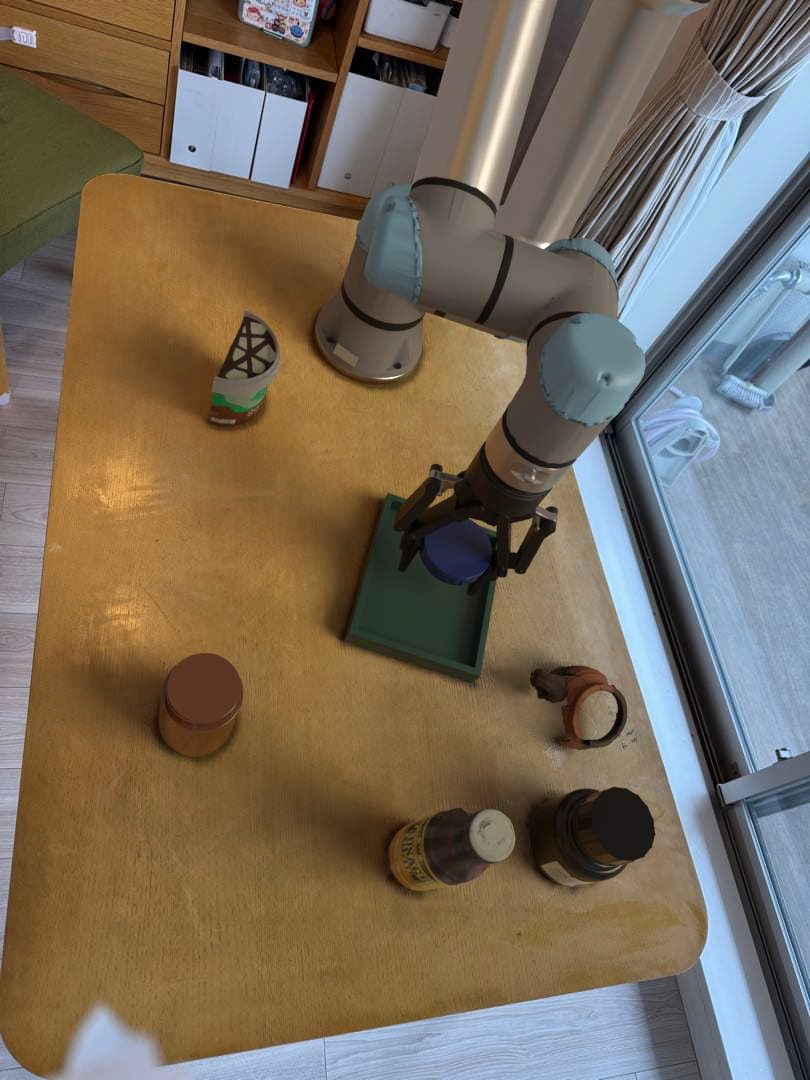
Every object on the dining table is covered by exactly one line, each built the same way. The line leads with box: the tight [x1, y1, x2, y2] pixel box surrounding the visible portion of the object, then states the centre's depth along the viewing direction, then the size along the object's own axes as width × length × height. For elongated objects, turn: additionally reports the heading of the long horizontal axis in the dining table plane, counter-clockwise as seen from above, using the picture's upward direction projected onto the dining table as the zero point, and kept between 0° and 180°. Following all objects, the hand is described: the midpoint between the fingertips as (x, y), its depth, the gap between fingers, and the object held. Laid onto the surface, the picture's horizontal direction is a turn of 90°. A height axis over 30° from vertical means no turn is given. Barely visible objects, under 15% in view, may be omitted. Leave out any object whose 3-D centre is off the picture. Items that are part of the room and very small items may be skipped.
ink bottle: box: [528, 786, 656, 888], centre depth 78 cm, size 10×9×12 cm
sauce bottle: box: [386, 807, 516, 892], centre depth 69 cm, size 6×6×20 cm
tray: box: [343, 492, 498, 684], centre depth 92 cm, size 20×16×3 cm
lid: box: [419, 518, 492, 586], centre depth 84 cm, size 8×8×2 cm
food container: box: [209, 309, 282, 428], centre depth 94 cm, size 12×6×10 cm, turn 168°
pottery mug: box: [528, 664, 628, 751], centre depth 88 cm, size 12×10×8 cm
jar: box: [158, 652, 244, 757], centre depth 73 cm, size 7×7×11 cm
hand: (437, 573), depth 89 cm, fingers closed on lid, 8 cm apart
